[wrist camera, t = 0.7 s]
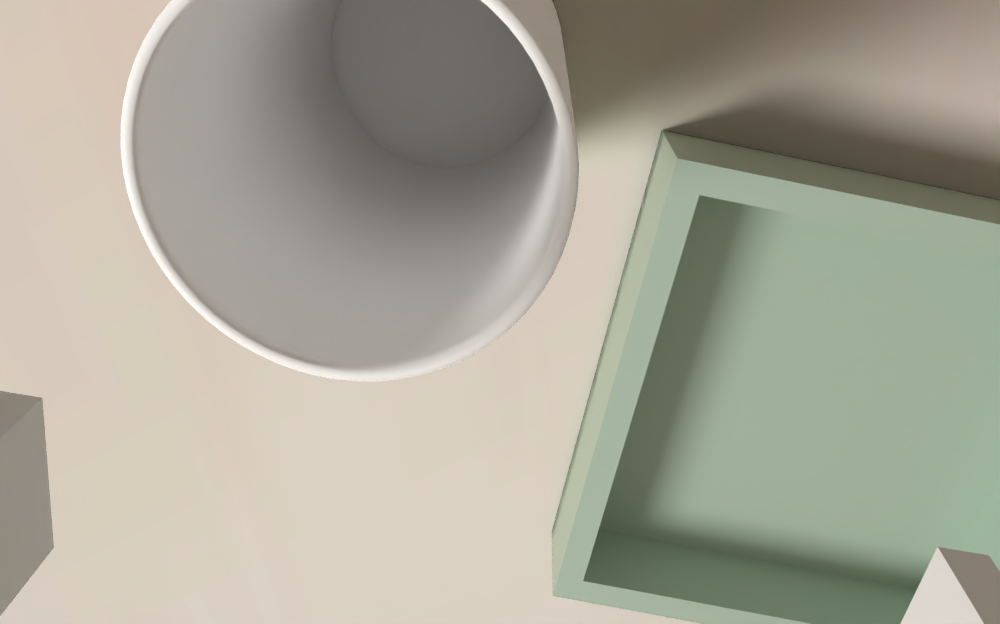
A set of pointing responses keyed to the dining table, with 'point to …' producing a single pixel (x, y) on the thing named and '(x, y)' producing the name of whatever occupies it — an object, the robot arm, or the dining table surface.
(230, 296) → the cup
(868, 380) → the bin
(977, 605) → the robot arm
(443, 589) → the dining table surface
